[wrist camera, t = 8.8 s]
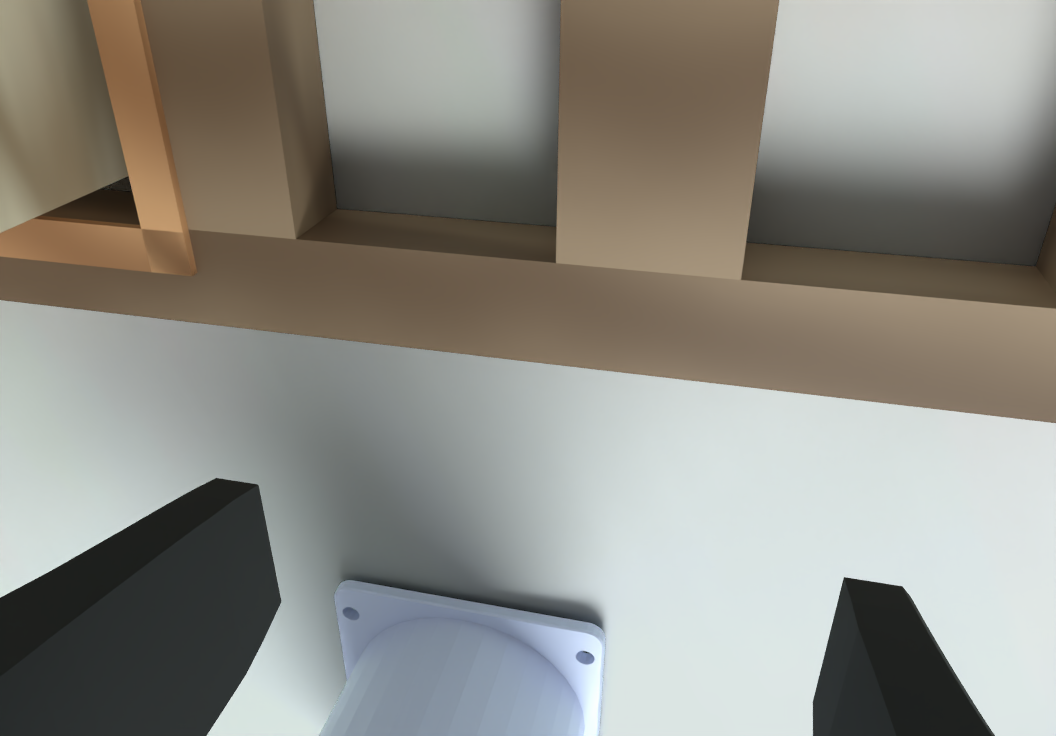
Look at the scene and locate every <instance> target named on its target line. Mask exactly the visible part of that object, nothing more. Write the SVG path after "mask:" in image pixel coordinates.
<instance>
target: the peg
mask: <svg viewBox="0 0 1056 736" xmlns="http://www.w3.org/2000/svg"><path fill="white" fill-rule="evenodd" d="M128 176H129V175H128V171H127V167H126V163H125V158H124V154H123V150H122V146H121V142H120V137H119V133H118V129H117V125H116V121H115V116H114V112H113V108H112V104H111V100H110V95H109V91H108V87H107V83H106V78H105V74H104V70H103V66H102V62H101V57H100V53H99V49H98V45H97V41H96V36H95V32H94V28H93V24H92V20H91V15H90V11H89V7H88V3H87V0H0V233H1V232H4V231H6V230H8V229H10V228H13V227H15V226H17V225H19V224H22V223H24V222H26V221H28V220H31V219H33V218H35V217H37V216H40V215H42V214H44V213H46V212H49V211H51V210H53V209H55V208H58V207H60V206H62V205H64V204H67V203H69V202H71V201H73V200H76V199H78V198H80V197H82V196H85V195H87V194H89V193H91V192H94V191H96V190H98V189H100V188H103V187H105V186H107V185H109V184H112V183H114V182H116V181H118V180H121V179H123V178H125V177H128Z"/></svg>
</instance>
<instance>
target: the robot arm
mask: <svg viewBox="0 0 1056 736" xmlns="http://www.w3.org/2000/svg"><path fill="white" fill-rule="evenodd" d="M334 600H335V606H336V613H337V619H338V626H339V632H340V639H341V645H342V652H343V658H344V665H345V671H346V678H347V683H346V685H345V687H344V688H343V690H342V692H341V694H340V696H339V698H338V700H337V702H336V704H335V706H334V708H333V710H332V711H331V713H330V715H329V717H328V719H327V721H326V723H325V725H324V727H323V729H322V731H321V732H320V734H319V736H599V732H600V717H601V702H602V686H603V671H604V656H605V640H606V638H605V633H604V632H603V631H602V629H601V628H599V627H598V626H596V625H595V624H592V623H589V622H583V621H577V620H572V619H566V618H561V617H555V616H549V615H544V614H538V613H533V612H527V611H521V610H516V609H510V608H505V607H499V606H494V605H488V604H482V603H477V602H471V601H466V600H460V599H454V598H449V597H443V596H438V595H432V594H426V593H421V592H415V591H410V590H404V589H399V588H393V587H387V586H382V585H376V584H371V583H365V582H359V581H354V580H346V581H343V582H341V584H340V585H339V586H338V588H337V590H336V591H335V594H334ZM280 604H281V598H280V593H279V588H278V582H277V577H276V572H275V567H274V562H273V557H272V552H271V547H270V542H269V537H268V531H267V526H266V521H265V516H264V511H263V506H262V501H261V496H260V491H259V486H258V485H257V484H250V483H244V482H238V481H231V480H225V479H219V478H216V479H214V480H212V481H210V482H208V483H206V484H204V485H202V486H200V487H198V488H196V489H194V490H192V491H190V492H188V493H187V494H185V495H183V496H181V497H179V498H178V499H176V500H174V501H172V502H170V503H169V504H167V505H165V506H163V507H162V508H160V509H158V510H156V511H155V512H153V513H151V514H149V515H148V516H146V517H144V518H143V519H141V520H139V521H137V522H136V523H134V524H132V525H130V526H129V527H127V528H125V529H124V530H122V531H120V532H118V533H117V534H115V535H113V536H111V537H110V538H108V539H106V540H104V541H103V542H101V543H99V544H97V545H96V546H94V547H92V548H90V549H89V550H87V551H85V552H83V553H82V554H80V555H78V556H76V557H75V558H73V559H71V560H69V561H68V562H66V563H64V564H62V565H61V566H59V567H57V568H55V569H53V570H52V571H50V572H48V573H46V574H44V575H43V576H41V577H39V578H37V579H35V580H33V581H31V582H29V583H27V584H25V585H24V586H22V587H20V588H18V589H16V590H14V591H12V592H10V593H8V594H7V595H5V596H3V597H1V598H0V736H206V735H207V734H208V732H209V731H210V729H211V728H212V726H213V725H214V723H215V722H216V720H217V719H218V717H219V715H220V714H221V712H222V711H223V709H224V708H225V706H226V705H227V703H228V702H229V700H230V699H231V697H232V695H233V694H234V692H235V691H236V689H237V688H238V686H239V684H240V683H241V681H242V680H243V678H244V677H245V675H246V673H247V671H248V669H249V668H250V666H251V664H252V662H253V660H254V658H255V656H256V654H257V652H258V650H259V648H260V646H261V644H262V642H263V640H264V638H265V636H266V634H267V631H268V629H269V627H270V625H271V623H272V621H273V619H274V616H275V614H276V612H277V610H278V608H279V606H280ZM353 608H354V609H355V610H354V609H353ZM582 651H587V652H589V653H591V654H587V653H584V652H582ZM813 736H995V735H994V734H993V732H992V731H991V729H990V728H989V726H988V725H987V723H986V722H985V720H984V719H983V717H982V716H981V714H980V712H979V711H978V709H977V708H976V706H975V705H974V703H973V701H972V700H971V698H970V697H969V695H968V693H967V692H966V690H965V689H964V687H963V685H962V684H961V682H960V680H959V679H958V677H957V675H956V674H955V672H954V671H953V669H952V667H951V666H950V664H949V662H948V661H947V659H946V657H945V656H944V654H943V652H942V651H941V649H940V647H939V646H938V644H937V642H936V640H935V639H934V637H933V635H932V634H931V632H930V630H929V628H928V627H927V625H926V623H925V621H924V620H923V618H922V616H921V614H920V613H919V611H918V609H917V607H916V606H915V604H914V602H913V600H912V599H911V597H910V595H909V594H908V593H907V592H906V590H905V589H904V588H903V587H902V586H896V585H889V584H883V583H877V582H870V581H864V580H858V579H851V578H845V577H844V579H843V583H842V587H841V591H840V595H839V600H838V604H837V608H836V612H835V616H834V620H833V624H832V628H831V632H830V636H829V640H828V644H827V648H826V652H825V656H824V660H823V664H822V668H821V672H820V676H819V680H818V684H817V688H816V692H815V696H814V700H813Z"/></svg>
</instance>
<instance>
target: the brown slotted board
mask: <svg viewBox="0 0 1056 736" xmlns="http://www.w3.org/2000/svg"><path fill="white" fill-rule="evenodd" d="M87 3H88V7H89V11H90V15H91V20H92V24H93V28H94V32H95V36H96V41H97V45H98V49H99V53H100V57H101V62H102V66H103V70H104V74H105V78H106V83H107V87H108V91H109V95H110V100H111V104H112V108H113V112H114V116H115V121H116V125H117V129H118V133H119V137H120V142H121V146H122V150H123V154H124V158H125V163H126V167H127V171H128V175H129V180H130V184H131V188H132V192H128V191H116V190H103V189H98V190H96V191H94V192H91V193H89V194H87V195H85V196H82V197H80V198H78V199H76V200H73V201H71V202H69V203H67V204H64V205H62V206H60V207H58V208H55V209H53V210H51V211H49V212H46V213H44V214H42V215H40V216H37V217H35V218H33V219H31V220H28V221H26V222H24V223H22V224H19V225H17V226H15V227H13V228H10V229H8V230H6V231H4V232H1V233H0V300H5V301H14V302H22V303H31V304H40V305H48V306H57V307H65V308H74V309H83V310H91V311H100V312H108V313H117V314H125V315H134V316H143V317H151V318H160V319H168V320H177V321H185V322H194V323H203V324H211V325H220V326H228V327H237V328H245V329H254V330H263V331H271V332H280V333H288V334H297V335H305V336H314V337H323V338H331V339H340V340H348V341H357V342H365V343H374V344H383V345H391V346H400V347H408V348H417V349H425V350H434V351H443V352H451V353H460V354H468V355H477V356H486V357H494V358H503V359H511V360H520V361H528V362H537V363H546V364H554V365H563V366H571V367H580V368H588V369H597V370H606V371H614V372H623V373H631V374H640V375H648V376H657V377H666V378H674V379H683V380H691V381H700V382H708V383H717V384H726V385H734V386H743V387H751V388H760V389H768V390H777V391H786V392H794V393H803V394H811V395H820V396H828V397H837V398H846V399H854V400H863V401H871V402H880V403H888V404H897V405H906V406H914V407H923V408H931V409H940V410H949V411H957V412H966V413H974V414H983V415H991V416H1000V417H1009V418H1017V419H1026V420H1034V421H1043V422H1051V423H1056V205H1055V208H1054V211H1053V214H1052V217H1051V221H1050V224H1049V227H1048V230H1047V233H1046V236H1045V239H1044V242H1043V245H1042V249H1041V252H1040V255H1039V258H1038V261H1037V264H1036V266H1024V265H1012V264H1000V263H988V262H976V261H964V260H952V259H940V258H927V257H915V256H903V255H891V254H879V253H867V252H855V251H843V250H830V249H818V248H806V247H794V246H782V245H770V244H758V243H746V239H747V232H748V225H749V217H750V210H751V203H752V195H753V188H754V181H755V173H756V166H757V159H758V152H759V144H760V137H761V130H762V122H763V115H764V108H765V100H766V93H767V86H768V78H769V71H770V64H771V56H772V49H773V42H774V34H775V27H776V20H777V12H778V5H779V0H561V17H560V71H559V125H558V179H557V227H552V226H540V225H528V224H515V223H503V222H491V221H479V220H467V219H455V218H443V217H431V216H418V215H406V214H394V213H382V212H370V211H358V210H346V209H337V204H336V196H335V187H334V178H333V170H332V161H331V152H330V144H329V135H328V126H327V118H326V109H325V100H324V92H323V83H322V74H321V66H320V57H319V49H318V40H317V31H316V23H315V14H314V5H313V0H87Z"/></svg>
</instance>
